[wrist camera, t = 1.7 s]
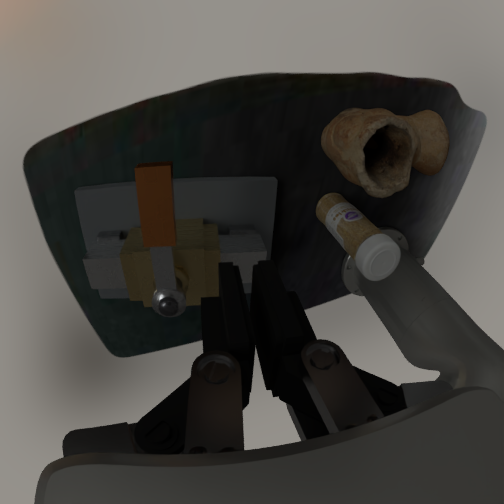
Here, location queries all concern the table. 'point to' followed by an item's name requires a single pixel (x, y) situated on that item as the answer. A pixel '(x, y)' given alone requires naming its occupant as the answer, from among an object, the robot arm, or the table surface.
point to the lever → (160, 233)
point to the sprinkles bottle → (359, 237)
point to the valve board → (182, 209)
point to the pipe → (385, 147)
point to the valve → (185, 258)
